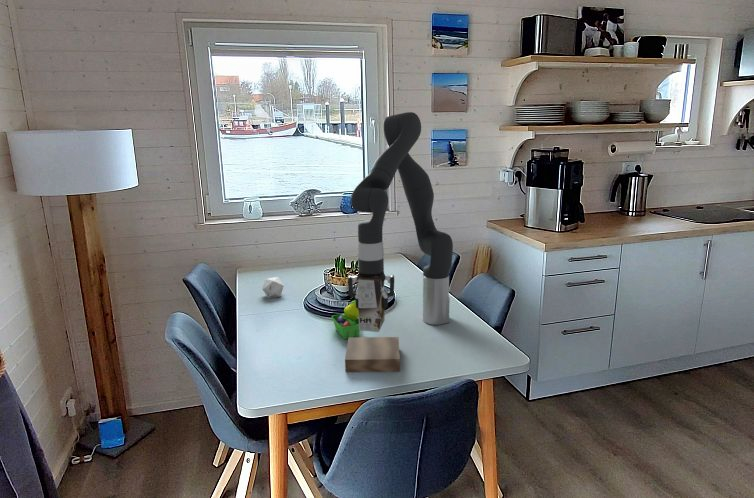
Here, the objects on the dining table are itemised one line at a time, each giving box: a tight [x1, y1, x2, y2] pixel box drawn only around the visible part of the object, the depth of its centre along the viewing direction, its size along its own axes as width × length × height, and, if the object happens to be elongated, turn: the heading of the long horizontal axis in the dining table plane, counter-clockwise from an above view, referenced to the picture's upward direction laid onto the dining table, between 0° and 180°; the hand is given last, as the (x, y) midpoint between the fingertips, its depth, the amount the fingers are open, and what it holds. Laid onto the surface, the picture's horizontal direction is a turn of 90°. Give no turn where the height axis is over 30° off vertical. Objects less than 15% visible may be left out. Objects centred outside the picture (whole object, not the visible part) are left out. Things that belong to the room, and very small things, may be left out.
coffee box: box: [357, 276, 386, 333], centre depth 152 cm, size 9×6×16 cm
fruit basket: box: [331, 300, 361, 340], centre depth 175 cm, size 11×9×11 cm
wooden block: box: [344, 336, 401, 373], centre depth 156 cm, size 16×15×4 cm
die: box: [262, 276, 284, 299], centre depth 212 cm, size 8×9×10 cm
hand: (371, 308), depth 153 cm, fingers closed on coffee box, 7 cm apart
